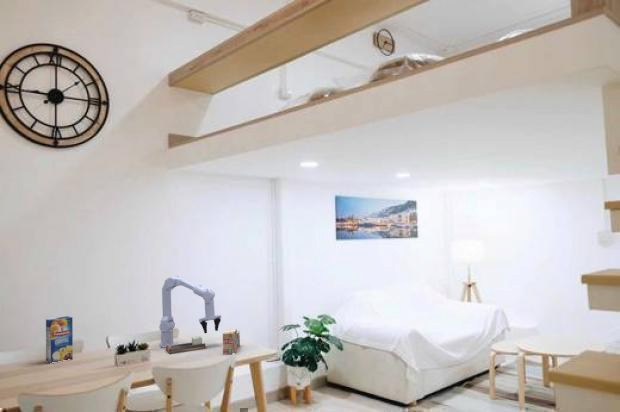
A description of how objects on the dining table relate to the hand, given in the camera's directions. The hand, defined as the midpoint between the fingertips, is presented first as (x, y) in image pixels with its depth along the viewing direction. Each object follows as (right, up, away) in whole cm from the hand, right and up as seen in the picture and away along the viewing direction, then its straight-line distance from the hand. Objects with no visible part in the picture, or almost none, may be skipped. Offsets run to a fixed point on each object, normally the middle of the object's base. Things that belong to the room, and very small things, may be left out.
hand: (211, 331), depth 304 cm
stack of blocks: (+15, -8, -10) cm, 20 cm away
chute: (-14, -9, -6) cm, 18 cm away
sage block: (-8, -8, -3) cm, 12 cm away
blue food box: (-83, -10, -24) cm, 87 cm away
